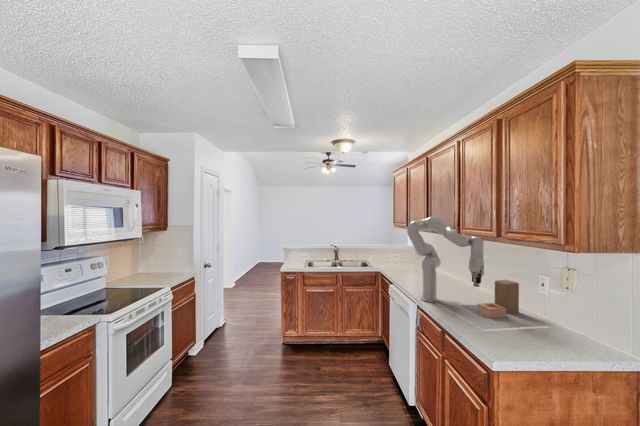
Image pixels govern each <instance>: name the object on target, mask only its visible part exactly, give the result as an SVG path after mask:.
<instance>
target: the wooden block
mask: <svg viewBox="0 0 640 426" xmlns="http://www.w3.org/2000/svg"><path fill="white" fill-rule="evenodd" d="M519 302H520V284H519V282H517V281H512V280H509V279H508V280H507V279H500V280H499V279H497V280H494V303H495V304H497V305H500V306H502V307H504V308H506V315H512V314H518V313H519V312H520V311H519V310H520V305H519V304H520V303H519Z"/></svg>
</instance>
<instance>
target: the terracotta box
mask: <svg viewBox="0 0 640 426" xmlns="http://www.w3.org/2000/svg"><path fill="white" fill-rule="evenodd" d="M477 305H478V313H480V314H482V315H484V316H486V317H488V318H490V319H502V318H501V317H506V315H507V314H506V308H504V307H502V306H500V305H497V304H495V302H484V303H483V302H482V303H477Z"/></svg>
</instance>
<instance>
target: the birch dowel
mask: <svg viewBox="0 0 640 426" xmlns="http://www.w3.org/2000/svg"><path fill="white" fill-rule="evenodd" d="M478 274H480V273H478ZM476 277H477V273H475V272H474V276H473V287H474V288H475V287H476V288H479V287H480V283H476Z"/></svg>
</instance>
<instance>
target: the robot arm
mask: <svg viewBox="0 0 640 426" xmlns="http://www.w3.org/2000/svg"><path fill="white" fill-rule="evenodd" d="M427 230H428V231H429V230H432V231H434V232H436V233H438V234H440V235H442V236H443V237H444V238H445V239H446V240H447V241H449V242H451V243H452V244H454V245H456V246H458V247H459V248H465V247H470V256H469V261H468V270H469V272H470V274H471V282H473V276H474V272H475V273H477V277H476V283H479V284H481V283H482V276H484V275H485V259H484V244H485V243H484V242H485V241H484V240H482V239H481V237H482V236H480V237H478V235H474V236H472V235H467V234H464V235H463V234H460V233H458V231H457V232H456V231H455V230H453V228H452V227H451V225H450V224H448V223H446V222H444V221H442V219H441V218H440V217H438V216H437V215H436V216H434V215H433V216H429V217H427V218H424V219H420V220H419V219H417V220H412V221H411V222H410V223H409V224H408V226H407V229H406V232H407V236H408V237H409V239H410V241H411V244H412V245H413V248H414V249H415V251H416V253H417V255H418V256H420V257H424V258H423V260H422V261H421V270H422V292H421V295H422V296H421V297H420V300H421V301H422V302H425V301H426V302H427V303H437V302H438V301H439V298H438V297H437V270H436V269H438V268H439V267H440V266H441V264H442V263H441V259H440V257H439V255H438V254H437V251H436V249H435V248H434V246H433V245H432V244H431V243H429V242H425V239H424V238H423V236H422V235H421V233H420V232H424V231H427ZM478 273H480V274H478ZM426 302H425V303H426Z"/></svg>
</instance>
